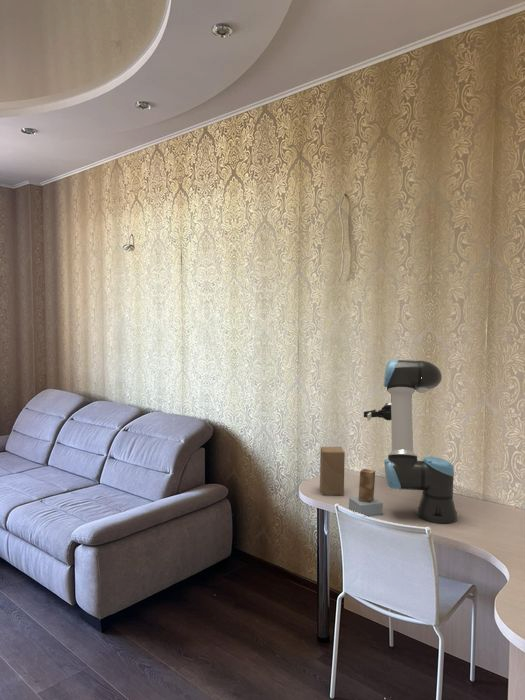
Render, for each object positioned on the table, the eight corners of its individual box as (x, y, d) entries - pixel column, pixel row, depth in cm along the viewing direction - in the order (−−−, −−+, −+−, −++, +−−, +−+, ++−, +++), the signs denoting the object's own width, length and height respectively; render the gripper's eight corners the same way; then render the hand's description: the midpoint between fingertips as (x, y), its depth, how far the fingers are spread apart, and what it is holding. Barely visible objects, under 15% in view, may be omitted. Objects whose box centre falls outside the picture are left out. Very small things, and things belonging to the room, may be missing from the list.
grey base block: (382, 515, 206) (382, 503, 206) (360, 517, 203) (360, 505, 203) (370, 506, 216) (370, 495, 216) (348, 509, 213) (349, 497, 213)
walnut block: (373, 499, 211) (375, 470, 210) (370, 502, 206) (372, 473, 206) (361, 496, 213) (363, 468, 212) (358, 500, 208) (360, 471, 208)
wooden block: (344, 495, 228) (344, 451, 228) (321, 495, 229) (322, 451, 228) (341, 488, 238) (341, 446, 238) (319, 488, 239) (320, 446, 238)
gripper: (415, 421, 243) (411, 429, 224) (363, 417, 252) (355, 424, 233) (416, 405, 243) (412, 412, 223) (364, 402, 252) (355, 408, 232)
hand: (383, 418), depth 228 cm, fingers open, 13 cm apart
